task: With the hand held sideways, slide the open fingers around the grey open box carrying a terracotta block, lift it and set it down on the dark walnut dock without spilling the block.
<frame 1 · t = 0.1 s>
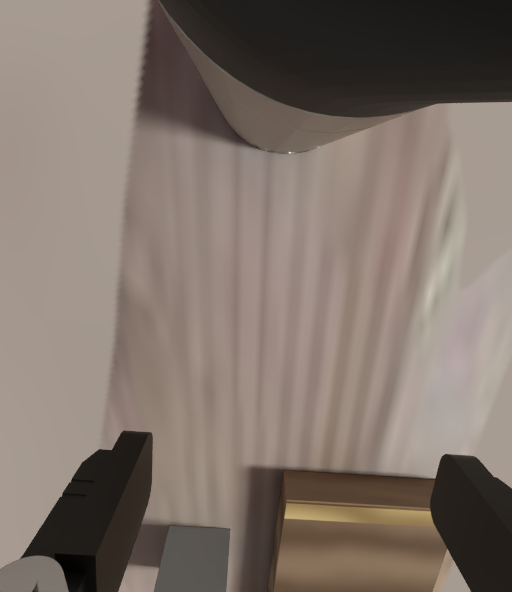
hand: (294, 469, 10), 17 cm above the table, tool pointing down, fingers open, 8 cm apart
dock: (345, 557, 35), on the table
grey open box: (198, 549, 35), on the table, touching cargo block
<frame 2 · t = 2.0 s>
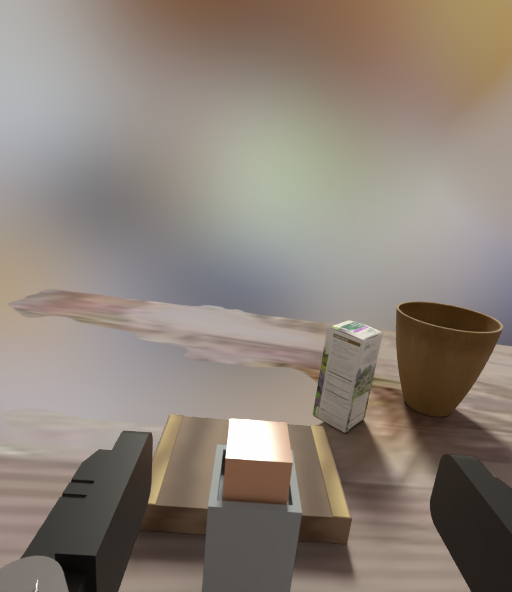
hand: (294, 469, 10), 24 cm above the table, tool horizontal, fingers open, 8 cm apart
syrup box: (338, 419, 56), on the table
dock: (243, 481, 42), on the table
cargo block: (253, 489, 25), point 12 cm above the table, touching grey open box
plant pot: (425, 405, 62), on the table
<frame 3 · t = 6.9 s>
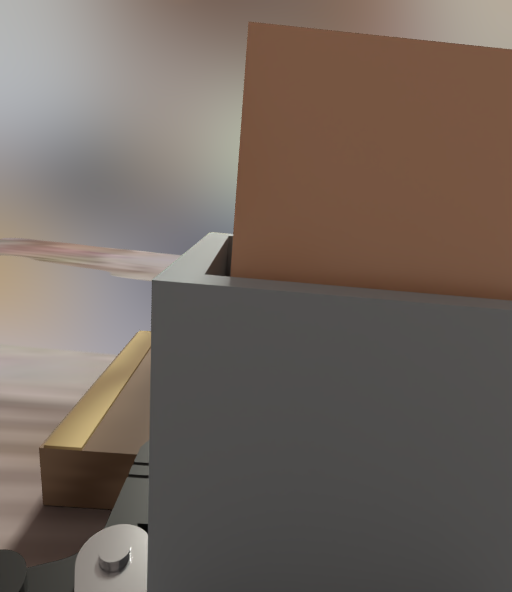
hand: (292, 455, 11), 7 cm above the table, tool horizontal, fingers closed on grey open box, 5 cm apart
dock: (261, 427, 24), on the table
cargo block: (336, 321, 7), point 12 cm above the table, touching grey open box
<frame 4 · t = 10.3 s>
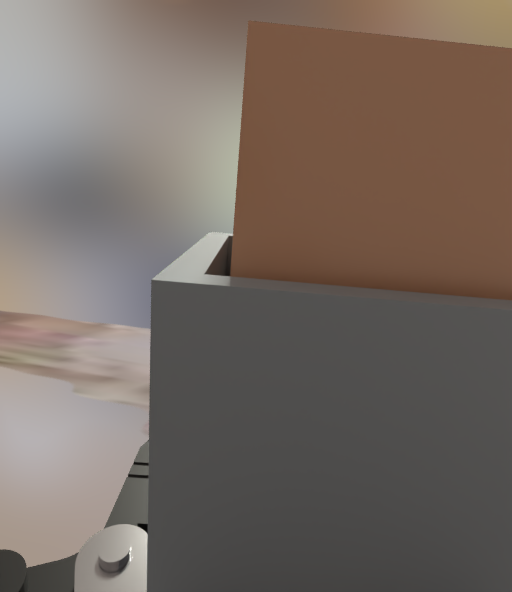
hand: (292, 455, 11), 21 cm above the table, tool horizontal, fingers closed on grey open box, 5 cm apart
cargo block: (336, 321, 7), point 26 cm above the table, touching grey open box
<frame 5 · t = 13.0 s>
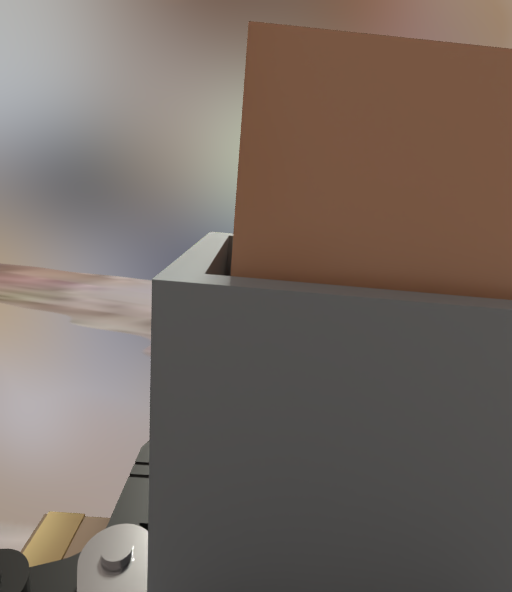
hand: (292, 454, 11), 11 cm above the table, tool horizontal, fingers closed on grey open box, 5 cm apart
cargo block: (336, 321, 7), point 16 cm above the table, touching grey open box
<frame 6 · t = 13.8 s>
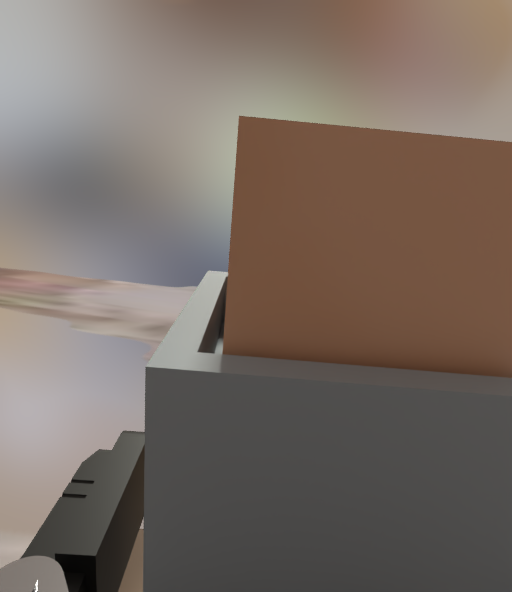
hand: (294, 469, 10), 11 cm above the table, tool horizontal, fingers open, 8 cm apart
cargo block: (330, 371, 7), point 15 cm above the table, touching grey open box
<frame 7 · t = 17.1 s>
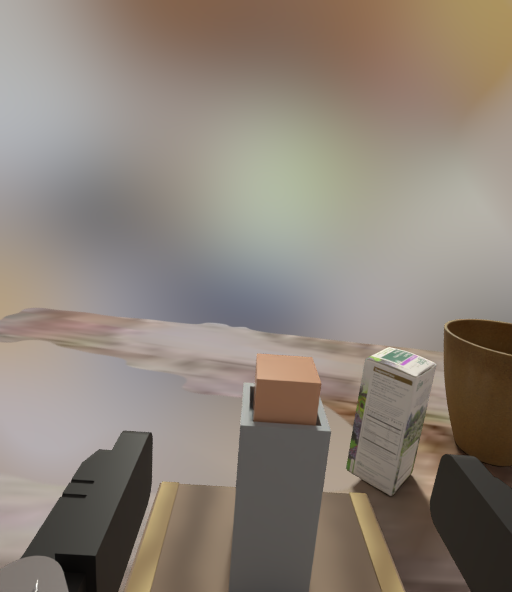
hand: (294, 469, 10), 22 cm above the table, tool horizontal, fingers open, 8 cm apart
syrup box: (379, 474, 43), on the table
dock: (264, 586, 29), on the table
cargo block: (281, 420, 26), point 15 cm above the table, touching grey open box
grey open box: (267, 557, 29), point 3 cm above the table, touching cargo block, dock
plant pot: (482, 449, 50), on the table
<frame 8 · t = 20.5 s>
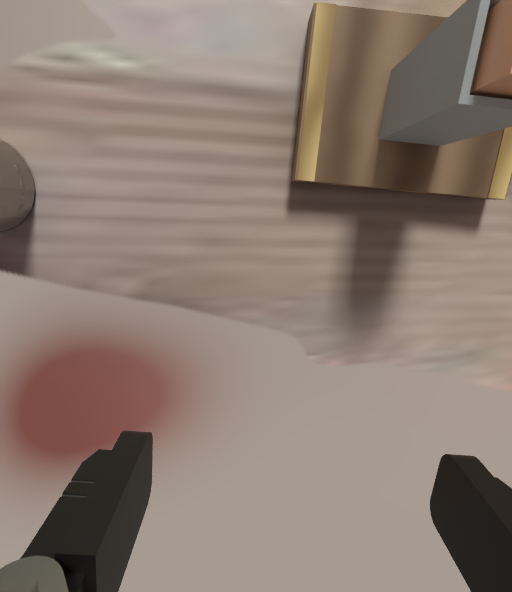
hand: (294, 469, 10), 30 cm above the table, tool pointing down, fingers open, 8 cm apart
dock: (402, 114, 36), on the table
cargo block: (506, 61, 21), point 15 cm above the table, touching grey open box
grey open box: (416, 108, 33), point 3 cm above the table, touching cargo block, dock
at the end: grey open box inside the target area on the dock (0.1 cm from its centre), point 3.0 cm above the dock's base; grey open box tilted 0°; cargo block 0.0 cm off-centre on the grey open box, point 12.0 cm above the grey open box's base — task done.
